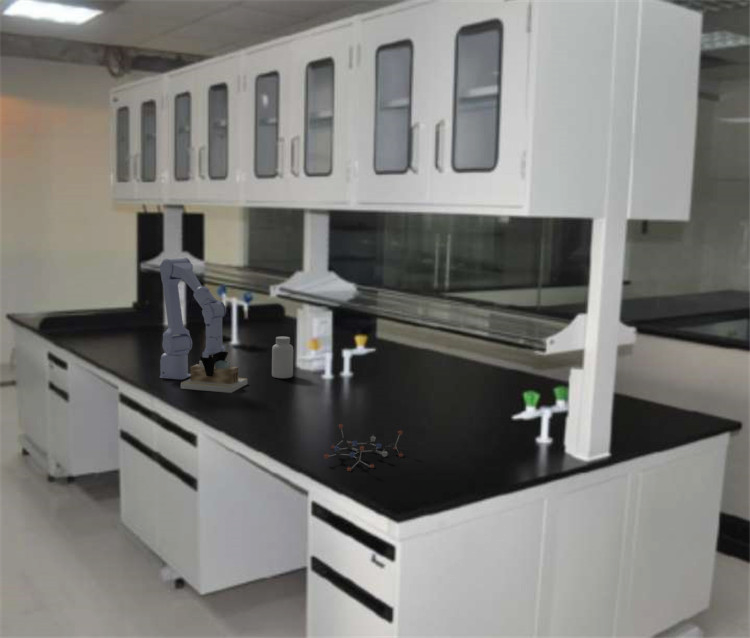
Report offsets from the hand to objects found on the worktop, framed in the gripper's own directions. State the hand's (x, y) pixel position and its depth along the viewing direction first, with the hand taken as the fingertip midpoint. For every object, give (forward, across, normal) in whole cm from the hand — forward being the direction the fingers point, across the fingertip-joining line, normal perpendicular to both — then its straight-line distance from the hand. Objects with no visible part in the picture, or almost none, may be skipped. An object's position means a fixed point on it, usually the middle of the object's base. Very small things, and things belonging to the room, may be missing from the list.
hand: (214, 374), depth 285 cm
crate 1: (-3, 0, +3) cm, 4 cm away
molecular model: (+5, -60, -69) cm, 92 cm away
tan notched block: (+2, 0, 0) cm, 2 cm away
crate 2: (-3, 0, -3) cm, 4 cm away
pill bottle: (+5, +23, -17) cm, 29 cm away
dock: (+4, 0, 0) cm, 4 cm away
